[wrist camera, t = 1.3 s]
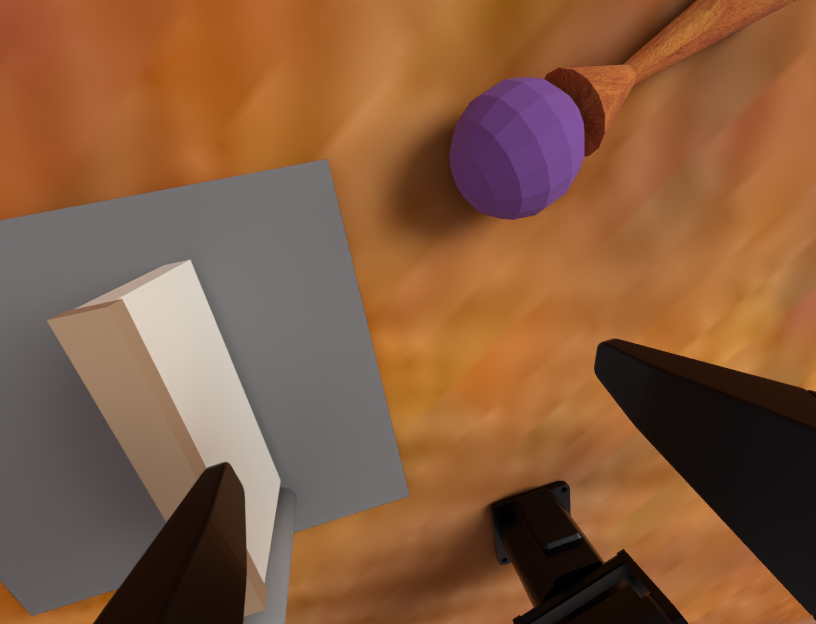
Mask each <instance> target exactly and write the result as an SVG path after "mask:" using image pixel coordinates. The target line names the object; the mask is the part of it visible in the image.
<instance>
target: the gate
mask: <svg viewBox="0 0 816 624" xmlns="http://www.w3.org/2000/svg"><path fill="white" fill-rule="evenodd" d="M47 322H48V323H49V325H50V327H51V328H52V330H53V332H54V333H55V335H56V337H57V338H58V340H59V342H60V344H61V345H62V347H63V349H64V350H65V352H66V354H67V355H68V357H69V359H70V360H71V362H72V364H73V365H74V367H75V369H76V371H77V372H78V374H79V376H80V377H81V379H82V381H83V382H84V384H85V386H86V387H87V389H88V391H89V393H90V394H91V396H92V398H93V399H94V401H95V403H96V404H97V406H98V408H99V409H100V411H101V413H102V414H103V416H104V418H105V420H106V421H107V423H108V425H109V426H110V428H111V430H112V431H113V433H114V435H115V436H116V438H117V440H118V441H119V443H120V445H121V447H122V448H123V450H124V452H125V453H126V455H127V457H128V458H129V460H130V462H131V463H132V465H133V467H134V468H135V470H136V472H137V474H138V475H139V477H140V479H141V480H142V482H143V484H144V485H145V487H146V489H147V490H148V492H149V494H150V495H151V497H152V499H153V501H154V502H155V504H156V506H157V507H158V509H159V511H160V512H161V514H162V516H163V517H164V519H165V521H166V522H167V521H168V519H169V518H170V517H171V515H172V514H173V512H174V511H175V510H176V508H177V507H178V505H179V504H180V503H181V501H182V500H183V499H184V497H185V496H186V494H187V493H188V492H189V490H190V489H191V488H192V486H193V485H194V483H195V482H196V481H197V479H198V478H199V476H200V475H201V474H202V472H203V471H204V470H205V469H206V468H207V467H209V466H213V465H216V464H219V463H222V462H228V463H230V465H231V466H232V468H233V469H234V471H235V473H236V475H237V476H238V478H239V480H240V481H241V483H242V485H243V488H244V492H245V512H246V544H247V582H246V595H245V608H244V617H246V616H249V615H251V614H254V613H257V612H260V611H263V610H265V605H266V598H267V591H268V590H267V588H266V586H265V584H264V583H265V577H266V570H267V564H268V558H269V551H270V545H271V539H272V533H273V526H274V520H275V514H276V507H277V501H278V495H279V488H280V482H281V480H280V478H279V475H278V473H277V470H276V468H275V465H274V463H273V461H272V458H271V456H270V453H269V451H268V448H267V446H266V443H265V441H264V439H263V436H262V434H261V431H260V429H259V426H258V424H257V421H256V419H255V417H254V414H253V412H252V409H251V407H250V404H249V402H248V399H247V397H246V395H245V392H244V390H243V387H242V385H241V382H240V380H239V377H238V375H237V373H236V370H235V368H234V365H233V363H232V360H231V358H230V355H229V353H228V351H227V348H226V346H225V343H224V341H223V338H222V336H221V333H220V331H219V329H218V326H217V324H216V321H215V319H214V316H213V314H212V311H211V309H210V307H209V304H208V302H207V299H206V297H205V294H204V292H203V289H202V287H201V285H200V282H199V280H198V277H197V275H196V272H195V270H194V267H193V265H192V263H191V260H186V261H181V262H176V263H172V264H167V265H163V266H161V267H159V268H157V269H155V270H153V271H151V272H149V273H147V274H145V275H143V276H141V277H139V278H137V279H135V280H133V281H130V282H128V283H126V284H124V285H122V286H120V287H118V288H116V289H114V290H112V291H110V292H108V293H106V294H104V295H102V296H100V297H98V298H96V299H94V300H92V301H90V302H88V303H86V304H84V305H81V306H79V307H77V308H75V309H73V310H69V311H65V312H63V313H61V314H59V315H57V316H55V317H53V318H51V319H49V320H47Z"/></svg>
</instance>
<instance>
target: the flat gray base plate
mask: <svg viewBox="0 0 816 624" xmlns="http://www.w3.org/2000/svg"><path fill="white" fill-rule="evenodd" d="M186 260H191V263H192V265H193V267H194V270H195V272H196V275H197V277H198V280H199V282H200V285H201V287H202V289H203V292H204V294H205V297H206V299H207V302H208V304H209V307H210V309H211V311H212V314H213V316H214V319H215V321H216V324H217V326H218V329H219V331H220V333H221V336H222V338H223V341H224V343H225V346H226V348H227V351H228V353H229V355H230V358H231V360H232V363H233V365H234V368H235V370H236V373H237V375H238V377H239V380H240V382H241V385H242V387H243V390H244V392H245V395H246V397H247V399H248V402H249V404H250V407H251V409H252V412H253V414H254V417H255V419H256V421H257V424H258V426H259V429H260V431H261V434H262V436H263V439H264V441H265V443H266V446H267V448H268V451H269V453H270V456H271V458H272V461H273V463H274V465H275V468H276V470H277V473H278V475H279V478H280V480H281V482H280V488H279V495H278V501H277V507H276V514H275V520H274V526H273V533H272V539H271V545H270V551H269V558H268V564H267V570H266V577H265V583H264V584H265V586H266V588H267V590H268V591H267V598H266V605H265V610H263V611H260V612H257V613H254V614H251V615H249V616H246V617H244V621H243V624H285V617H286V606H287V596H288V586H289V575H290V565H291V555H292V544H293V534H294V533H295V532H298V531H301V530H304V529H307V528H310V527H314V526H317V525H320V524H323V523H326V522H329V521H333V520H336V519H339V518H342V517H345V516H348V515H351V514H355V513H358V512H361V511H364V510H367V509H370V508H373V507H377V506H380V505H383V504H386V503H389V502H392V501H395V500H399V499H402V498H405V497H408V496H409V492H408V488H407V484H406V480H405V476H404V471H403V467H402V463H401V459H400V455H399V451H398V447H397V443H396V439H395V435H394V430H393V426H392V422H391V418H390V414H389V410H388V406H387V402H386V398H385V394H384V389H383V385H382V381H381V377H380V373H379V369H378V365H377V361H376V357H375V352H374V348H373V344H372V340H371V336H370V332H369V328H368V324H367V320H366V316H365V311H364V307H363V303H362V299H361V295H360V291H359V287H358V283H357V279H356V275H355V270H354V266H353V262H352V258H351V254H350V250H349V246H348V242H347V238H346V234H345V229H344V225H343V221H342V217H341V213H340V209H339V205H338V201H337V197H336V193H335V188H334V184H333V180H332V176H331V172H330V168H329V164H328V160H327V159H325V160H320V161H315V162H309V163H304V164H299V165H293V166H288V167H283V168H277V169H272V170H267V171H261V172H256V173H251V174H245V175H240V176H235V177H229V178H224V179H219V180H213V181H208V182H203V183H197V184H192V185H187V186H181V187H176V188H171V189H165V190H160V191H155V192H149V193H144V194H139V195H133V196H128V197H123V198H117V199H112V200H107V201H101V202H96V203H91V204H85V205H80V206H75V207H69V208H64V209H59V210H53V211H48V212H43V213H37V214H32V215H27V216H22V217H16V218H11V219H6V220H0V581H1V582H2V583H3V584H4V586H5V587H6V588H7V589H8V590H9V591H10V592H11V593H12V594H13V596H14V597H15V598H16V599H17V600H18V601H19V602H20V603H21V604H22V606H23V607H24V608H25V609H26V610H27V611H28V612H29V613H30V615H31V616H34V615H37V614H40V613H43V612H46V611H49V610H53V609H56V608H59V607H62V606H65V605H68V604H72V603H75V602H78V601H81V600H84V599H87V598H90V597H94V596H97V595H100V594H103V593H106V592H109V591H112V590H116V589H118V588H119V587H120V586H121V584H122V583H123V581H124V580H125V579H126V577H127V576H128V575H129V573H130V572H131V570H132V569H133V568H134V566H135V565H136V563H137V562H138V561H139V559H140V558H141V557H142V555H143V554H144V552H145V551H146V550H147V548H148V547H149V546H150V544H151V543H152V541H153V540H154V539H155V537H156V536H157V534H158V533H159V532H160V530H161V529H162V528H163V526H164V525H165V523H166V521H165V519H164V517H163V516H162V514H161V512H160V511H159V509H158V507H157V506H156V504H155V502H154V501H153V499H152V497H151V495H150V494H149V492H148V490H147V489H146V487H145V485H144V484H143V482H142V480H141V479H140V477H139V475H138V474H137V472H136V470H135V468H134V467H133V465H132V463H131V462H130V460H129V458H128V457H127V455H126V453H125V452H124V450H123V448H122V447H121V445H120V443H119V441H118V440H117V438H116V436H115V435H114V433H113V431H112V430H111V428H110V426H109V425H108V423H107V421H106V420H105V418H104V416H103V414H102V413H101V411H100V409H99V408H98V406H97V404H96V403H95V401H94V399H93V398H92V396H91V394H90V393H89V391H88V389H87V387H86V386H85V384H84V382H83V381H82V379H81V377H80V376H79V374H78V372H77V371H76V369H75V367H74V365H73V364H72V362H71V360H70V359H69V357H68V355H67V354H66V352H65V350H64V349H63V347H62V345H61V344H60V342H59V340H58V338H57V337H56V335H55V333H54V332H53V330H52V328H51V327H50V325H49V323H48V322H47V320H49V319H51V318H53V317H55V316H57V315H59V314H61V313H63V312H65V311H69V310H73V309H75V308H77V307H79V306H81V305H84V304H86V303H88V302H90V301H92V300H94V299H96V298H98V297H100V296H102V295H104V294H106V293H108V292H110V291H112V290H114V289H116V288H118V287H120V286H122V285H124V284H126V283H128V282H130V281H133V280H135V279H137V278H139V277H141V276H143V275H145V274H147V273H149V272H151V271H153V270H155V269H157V268H159V267H161V266H163V265H167V264H172V263H176V262H181V261H186Z"/></svg>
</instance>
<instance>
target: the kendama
mask: <svg viewBox="0 0 816 624" xmlns="http://www.w3.org/2000/svg"><path fill="white" fill-rule="evenodd" d="M794 1H796V0H696V1H695V2H694V3H693V4H692V5H690V6H689V7H688V8H687V9H686V10H685V11H683V12H682V13H681V14H680V15H679V16H678V17H677V18H675V19H674V20H673V21H672V22H671V23H670V24H669V25H667V26H666V27H665V28H664V29H663V30H662V31H660V32H659V33H658V34H657V35H656V36H655V37H654V38H652V39H651V40H650V41H649V42H648V43H647V44H646V45H644V46H643V47H642V48H641V49H640V50H639V51H637V52H636V53H635V54H634V55H633V56H632V57H631V58H629V59H628V60H627V61H626V62H625V63H624V64H623V65H605V66H586V67H567V68H558V69H556V70H554V71H552V72H550V73H548V74H547V75H546V77H545V78H544V79H540V78H532V77H524V78H514V79H505V80H503V81H501V82H500V83H498V84H497V85H495V86H493V87H492V88H490V89H489V90H487V91H486V92H484V93H483V94H481V95H480V96H478V97H477V98H475V99H474V100H472V101H471V102H470V103H469V105H468V107H467V108H466V110H465V111H464V113H463V114H462V116H461V117H460V119H459V121H458V122H457V124H456V127H455V130H454V133H453V136H452V142H451V148H450V154H449V163H450V169H451V172H452V175H453V178H454V181H455V183H456V186H457V188H458V190H459V192H460V193H461V195H462V196H463V197H464V198H465V199H466V200H467V201H468V202H469V203H470V204H471V206H472V207H473V208H474V209H476V210H477V211H479V212H481V213H482V214H485V215H489V216H493V217H497V218H500V219H511V220H513V219H518V218H523V217H528V216H533V215H536V214H537V213H539V212H540V211H542V210H543V209H545V208H546V207H547V206H549V205H550V204H552V203H553V202H555V201H556V200H557V199H558V198H560V197H561V196H562V195H564V194H565V193H566V192H567V190H568V189H569V187H570V185H571V184H572V182H573V180H574V179H575V177H576V175H577V174H578V172H579V169H580V167H581V164H582V161H583V158H584V156H589V155H591V154H592V153H593V152H594V151H595V150H596V149H598V148H599V147H600V145H601V143H602V141H603V139H604V137H605V136H606V134H607V132H608V130H609V128H610V126H611V125H612V123H613V121H614V119H615V117H616V116H617V114H618V112H619V110H620V108H621V106H622V105H623V103H624V101H625V99H626V97H627V95H628V94H629V92H630V90H631V88H632V86H634V85H636V84H638V83H640V82H642V81H643V80H645V79H647V78H649V77H651V76H653V75H655V74H657V73H659V72H661V71H662V70H664V69H666V68H668V67H670V66H672V65H674V64H676V63H678V62H680V61H681V60H683V59H685V58H687V57H689V56H691V55H693V54H695V53H697V52H699V51H701V50H702V49H704V48H706V47H708V46H710V45H712V44H714V43H716V42H718V41H720V40H721V39H723V38H725V37H727V36H729V35H731V34H733V33H735V32H737V31H739V30H740V29H742V28H744V27H746V26H748V25H750V24H752V23H754V22H756V21H758V20H760V19H761V18H763V17H765V16H767V15H769V14H771V13H773V12H775V11H777V10H779V9H780V8H782V7H784V6H786V5H788V4H790V3H792V2H794Z"/></svg>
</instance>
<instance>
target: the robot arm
mask: <svg viewBox="0 0 816 624" xmlns="http://www.w3.org/2000/svg"><path fill="white" fill-rule="evenodd" d="M594 371H595V374H596V376H597V378H598V379H599V380H600V382H601V383H602V384H603V385H604V387H605V388H606V389H607V391H608V392H609V393H610V395H611V396H612V397H613V398H614V400H615V401H616V402H617V404H618V405H619V406H620V407H621V409H622V410H623V411H624V413H625V414H626V415H627V417H628V418H629V419H630V420H631V422H632V423H633V424H634V425H635V426H636V428H637V429H638V430H639V431H640V432H641V433H642V434H643V435H644V436H645V438H646V439H647V440H648V441H649V442H650V443H651V444H652V445H653V446H654V447H655V448H656V449H657V450H658V451H659V453H660V454H661V455H662V456H663V457H664V458H665V459H666V460H667V461H668V462H669V463H670V464H671V465H672V466H673V468H674V469H675V470H676V471H677V472H678V473H679V474H680V475H681V476H682V477H683V478H684V479H685V480H686V482H687V483H688V484H689V485H690V486H691V487H692V488H693V489H694V490H695V491H696V492H697V493H698V494H699V495H700V497H701V498H702V499H703V500H704V501H705V502H706V503H707V504H708V505H709V506H710V507H711V508H712V509H713V511H714V512H715V513H716V514H717V515H718V516H719V517H720V518H721V519H722V520H723V521H724V522H725V523H726V524H727V526H728V527H729V528H730V529H731V530H732V531H733V532H734V533H735V534H736V535H737V536H738V537H739V538H740V540H741V541H742V542H743V543H744V544H745V545H746V546H747V547H748V548H749V549H750V550H751V551H752V552H753V553H754V555H755V556H756V557H757V558H758V559H759V560H760V561H761V562H762V563H763V564H764V565H765V566H766V567H767V568H768V570H769V571H770V572H771V573H772V574H773V575H774V576H775V577H776V578H777V579H778V580H779V581H780V582H781V584H782V585H783V586H784V587H785V588H786V589H787V590H788V591H789V592H790V593H791V594H792V595H793V596H794V597H795V599H796V600H797V601H798V602H799V603H800V604H801V605H802V606H803V607H804V608H805V609H806V610H807V611H808V613H809V614H811V615H812V616H813V618H814V619H815V620H816V392H815V391H811V390H807V391H806V390H805V389H803V388H800V387H796V386H792V385H789V384H785V383H781V382H777V381H774V380H770V379H766V378H762V377H759V376H755V375H751V374H747V373H744V372H740V371H736V370H732V369H729V368H725V367H721V366H717V365H714V364H710V363H706V362H702V361H699V360H695V359H691V358H687V357H684V356H680V355H676V354H672V353H669V352H665V351H661V350H657V349H654V348H650V347H646V346H642V345H639V344H635V343H631V342H627V341H624V340H620V339H610V340H607V341H604V342H601V343H600V344H599V345H598V347H597V352H596V359H595V365H594ZM490 512H491V519H492V527H493V534H494V541H495V548H496V556H497V559H498V561H499V564H501V565H505V564H508V563H510V562H512V564H513V566H514V568H515V570H516V572H517V574H518V576H519V578H520V580H521V582H522V584H523V586H524V589H525V591H526V593H527V595H528V597H529V599H530V601H531V603H532V605H533V607H534V608H533V609H531V610H530V611H528V612H527V613H525V614H524V615H522V616H520V615H519V616H517V617H516V618H514V619H513V623H514V624H688V622H687V621H686V620H685V619H684V617H683V616H682V615H681V614H680V612H679V611H678V610H677V609H676V608H675V606H674V605H673V604H672V603H671V602H670V601H669V599H668V598H667V597H666V596H665V595H664V594H663V593H662V592H661V590H660V589H659V588H658V587H657V586H656V585H655V584H654V583H653V582H652V580H651V579H650V578H649V577H648V576H647V575H646V574H645V573H644V571H643V570H642V569H641V568H640V567H639V566H638V565H637V564H636V563H635V561H634V560H633V559H632V558H631V557H630V556H629V555H628V554H627V552H626V551H625V550H624V549H622V550H621V551H619V552H618V553H617V555H616V556H615V557H613V558H612V559H610V560H608V561H607V562H604V561H603V559H602V558H601V557H600V555H599V554H598V553H597V551H596V550H595V548H594V547H593V546H592V544H591V543H590V542H589V540H588V539H587V538H586V536H585V535H584V534H583V532H582V531H581V529H580V528H579V527H578V525H577V524H576V523H575V521H574V520H573V519H572V517H571V514H570V487H569V485H568V484H567V483H566V482H565V481H560V482H557V483H554V484H551V485H548V486H545V487H542V488H539V489H536V490H533V491H530V492H527V493H524V494H521V495H518V496H515V497H512V498H509V499H506V500H503V501H500V502H497V503H494V504H493V505H492V506H491V507H490ZM246 582H247V544H246V512H245V492H244V488H243V485H242V483H241V481H240V480H239V478H238V476H237V475H236V473H235V471H234V469H233V468H232V466H231V465H230V463H228V462H222V463H219V464H216V465H213V466H209V467H207V468H206V469H205V470H204V471H203V472H202V474H201V475H200V476H199V478H198V479H197V481H196V482H195V483H194V485H193V486H192V488H191V489H190V490H189V492H188V493H187V494H186V496H185V497H184V499H183V500H182V501H181V503H180V504H179V505H178V507H177V508H176V510H175V511H174V512H173V514H172V515H171V517H170V518H169V519H168V521H167V522H166V523H165V525H164V526H163V528H162V529H161V530H160V532H159V533H158V534H157V536H156V537H155V539H154V540H153V541H152V543H151V544H150V546H149V547H148V548H147V550H146V551H145V552H144V554H143V555H142V557H141V558H140V559H139V561H138V562H137V563H136V565H135V566H134V568H133V569H132V570H131V572H130V573H129V575H128V576H127V577H126V579H125V580H124V581H123V583H122V584H121V586H120V587H119V588H118V590H117V591H116V593H115V594H114V595H113V597H112V598H111V599H110V601H109V602H108V604H107V605H106V606H105V608H104V609H103V610H102V612H101V613H100V615H99V616H98V617H97V619H96V620H95V622H94V623H93V624H243V621H244V608H245V595H246Z"/></svg>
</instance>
